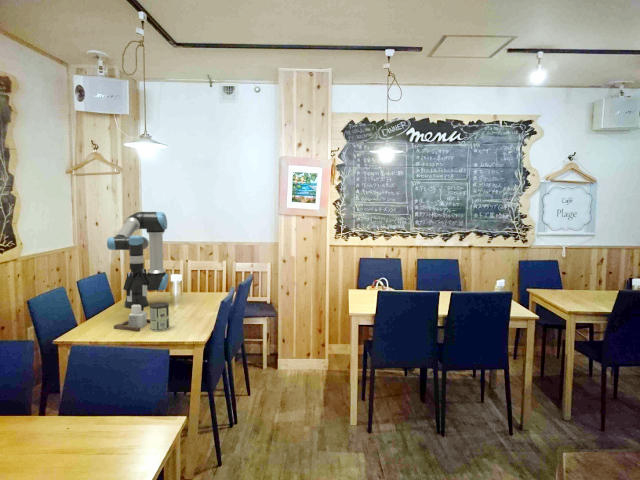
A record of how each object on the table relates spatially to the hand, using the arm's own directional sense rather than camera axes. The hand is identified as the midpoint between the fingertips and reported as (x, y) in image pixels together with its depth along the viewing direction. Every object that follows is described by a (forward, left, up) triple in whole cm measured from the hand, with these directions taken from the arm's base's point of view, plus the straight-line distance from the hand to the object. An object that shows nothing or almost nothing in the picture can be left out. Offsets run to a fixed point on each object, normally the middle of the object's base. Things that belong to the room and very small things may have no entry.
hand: (137, 298), depth 263 cm
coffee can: (0, +15, -16) cm, 22 cm away
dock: (0, 0, -16) cm, 16 cm away
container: (0, 0, -16) cm, 16 cm away
